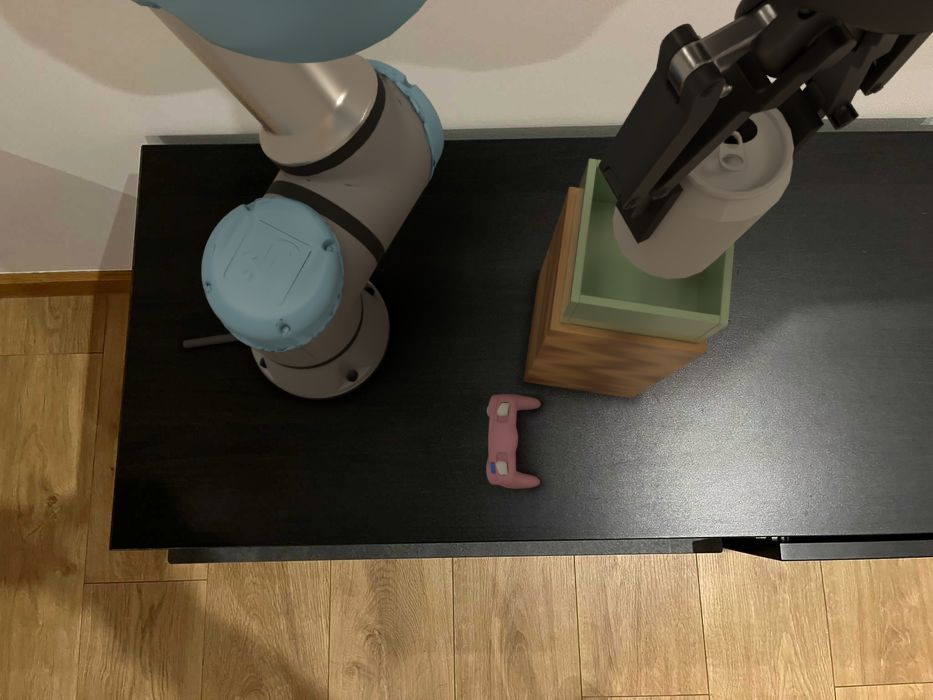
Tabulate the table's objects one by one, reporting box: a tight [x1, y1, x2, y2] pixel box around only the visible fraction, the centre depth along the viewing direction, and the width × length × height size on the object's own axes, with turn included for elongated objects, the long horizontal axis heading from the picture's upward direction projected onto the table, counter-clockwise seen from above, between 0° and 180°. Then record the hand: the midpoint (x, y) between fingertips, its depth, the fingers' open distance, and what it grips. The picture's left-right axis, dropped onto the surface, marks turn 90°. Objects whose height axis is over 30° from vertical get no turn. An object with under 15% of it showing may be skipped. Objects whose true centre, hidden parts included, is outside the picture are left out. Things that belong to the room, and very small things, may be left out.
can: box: [613, 108, 794, 279], centre depth 41 cm, size 8×8×12 cm
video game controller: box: [485, 393, 542, 490], centre depth 73 cm, size 10×5×7 cm, turn 178°
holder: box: [559, 158, 735, 344], centre depth 51 cm, size 11×11×6 cm
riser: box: [523, 186, 708, 399], centre depth 66 cm, size 12×12×24 cm
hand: (692, 193), depth 41 cm, fingers closed on can, 7 cm apart
